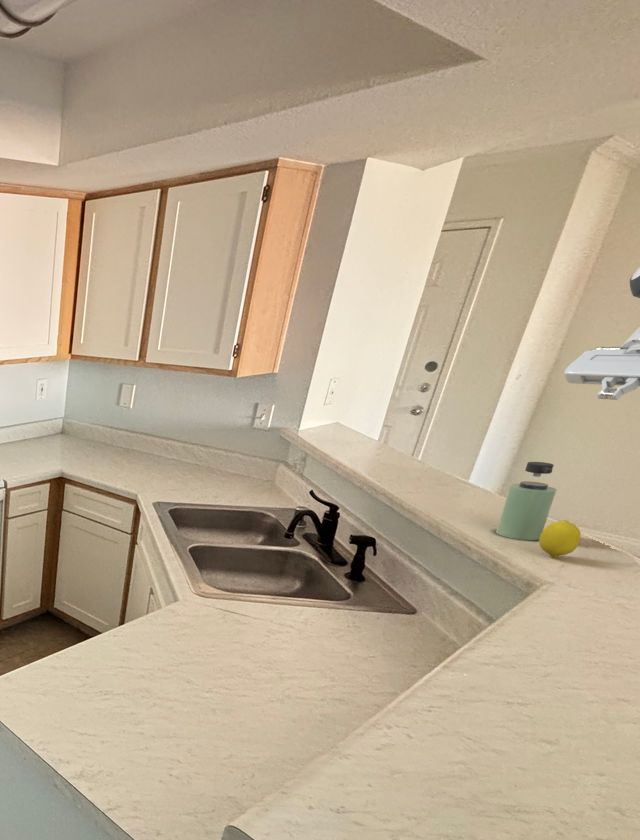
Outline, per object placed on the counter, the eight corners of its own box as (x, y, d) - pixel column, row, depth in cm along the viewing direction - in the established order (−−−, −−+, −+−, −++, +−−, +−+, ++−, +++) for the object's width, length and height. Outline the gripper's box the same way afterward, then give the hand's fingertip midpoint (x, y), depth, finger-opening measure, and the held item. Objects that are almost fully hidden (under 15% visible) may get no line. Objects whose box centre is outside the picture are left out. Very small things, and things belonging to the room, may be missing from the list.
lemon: (579, 563, 116) (593, 525, 114) (544, 561, 118) (557, 523, 115) (561, 553, 121) (574, 517, 119) (527, 551, 123) (539, 515, 120)
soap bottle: (532, 532, 134) (549, 481, 130) (546, 542, 128) (564, 488, 124) (490, 528, 137) (506, 478, 133) (502, 538, 131) (518, 486, 127)
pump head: (544, 474, 129) (549, 462, 128) (559, 481, 123) (563, 468, 122) (520, 473, 130) (524, 461, 129) (533, 480, 125) (537, 467, 124)
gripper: (585, 337, 132) (542, 384, 133) (723, 336, 114) (671, 390, 115) (592, 357, 135) (549, 403, 136) (728, 358, 116) (677, 412, 117)
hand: (606, 397), depth 125 cm, fingers closed
